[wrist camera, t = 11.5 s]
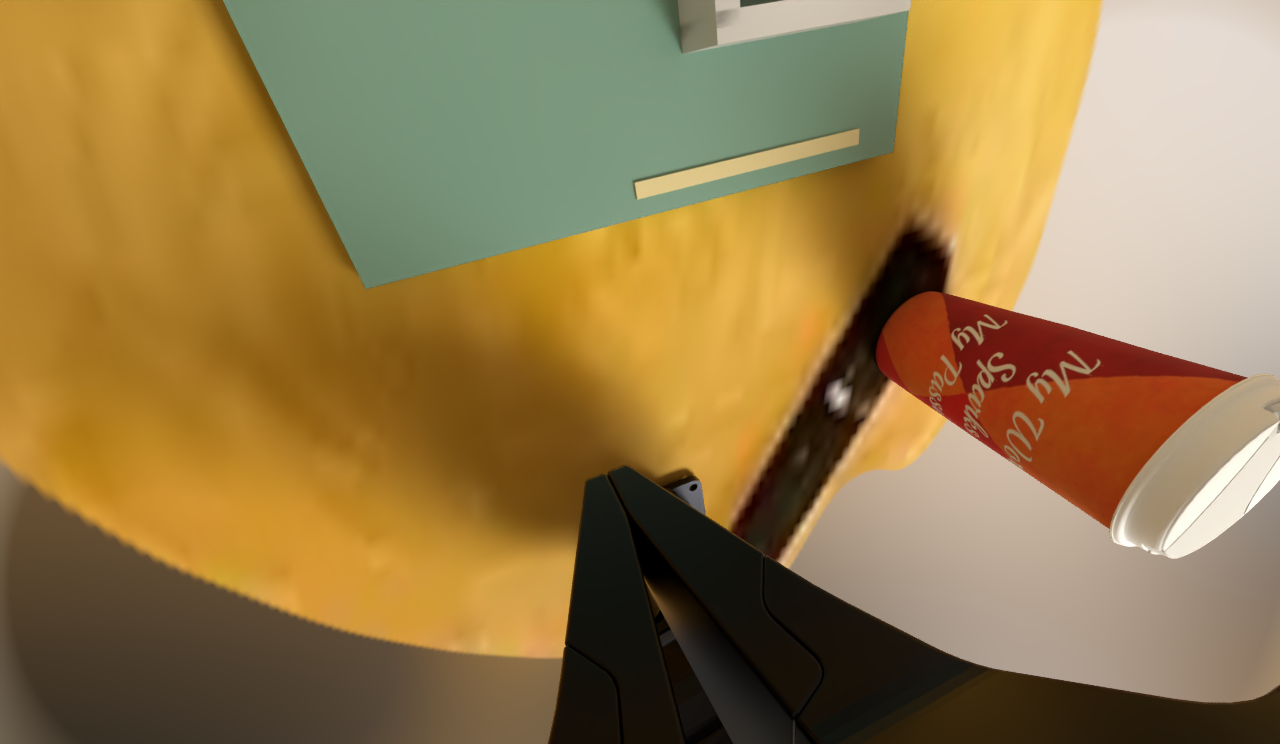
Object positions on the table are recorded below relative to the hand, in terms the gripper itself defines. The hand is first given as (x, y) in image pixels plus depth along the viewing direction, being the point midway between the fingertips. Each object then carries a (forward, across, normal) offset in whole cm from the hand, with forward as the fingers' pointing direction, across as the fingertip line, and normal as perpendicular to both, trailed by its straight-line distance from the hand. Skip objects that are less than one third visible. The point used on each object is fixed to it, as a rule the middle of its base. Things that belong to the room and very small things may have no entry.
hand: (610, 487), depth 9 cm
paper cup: (+12, -21, +9) cm, 26 cm away
